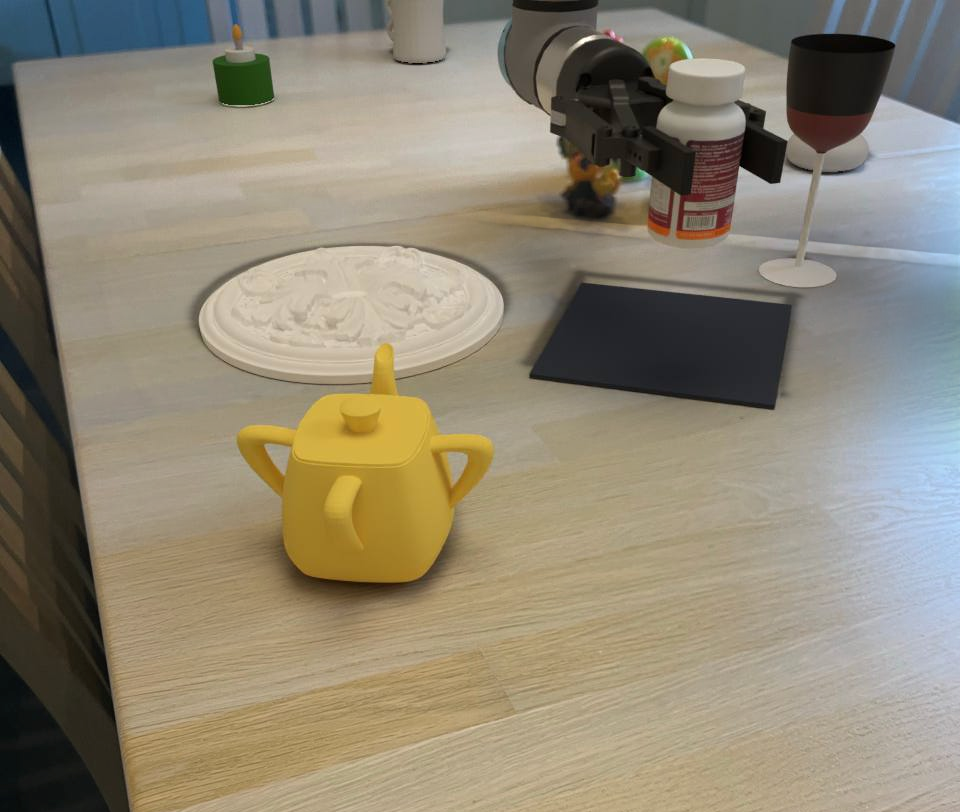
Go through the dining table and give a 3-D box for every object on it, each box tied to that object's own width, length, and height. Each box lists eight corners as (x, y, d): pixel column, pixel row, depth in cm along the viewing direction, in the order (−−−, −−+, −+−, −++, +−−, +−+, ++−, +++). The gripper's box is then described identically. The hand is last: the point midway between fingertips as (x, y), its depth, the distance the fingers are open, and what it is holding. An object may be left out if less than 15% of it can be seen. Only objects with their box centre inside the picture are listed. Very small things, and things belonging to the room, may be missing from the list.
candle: (220, 109, 149) (207, 31, 143) (218, 95, 155) (205, 20, 149) (276, 105, 151) (266, 28, 144) (272, 91, 157) (262, 17, 150)
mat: (791, 308, 94) (792, 304, 94) (774, 409, 80) (775, 404, 80) (580, 286, 99) (581, 282, 98) (529, 377, 84) (529, 373, 84)
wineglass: (752, 255, 104) (790, 32, 91) (840, 260, 103) (891, 35, 90) (752, 284, 98) (792, 51, 85) (845, 291, 97) (900, 54, 84)
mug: (457, 58, 173) (456, -11, 166) (419, 67, 168) (416, -3, 161) (407, 48, 179) (404, -19, 172) (369, 57, 174) (364, -12, 168)
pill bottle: (742, 231, 76) (769, 63, 69) (706, 257, 73) (731, 81, 65) (669, 216, 79) (687, 52, 72) (630, 239, 75) (646, 69, 68)
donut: (771, 169, 126) (851, 180, 122) (775, 139, 124) (857, 149, 119) (799, 148, 132) (876, 159, 128) (804, 120, 130) (882, 129, 126)
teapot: (236, 526, 68) (208, 387, 62) (397, 465, 74) (387, 332, 67) (338, 632, 60) (318, 485, 53) (510, 554, 66) (512, 412, 59)
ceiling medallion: (177, 282, 100) (170, 250, 98) (442, 242, 108) (441, 211, 106) (234, 409, 81) (227, 372, 78) (553, 348, 88) (554, 313, 86)
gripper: (693, 125, 89) (844, 208, 73) (488, 148, 85) (599, 242, 68) (704, 28, 84) (869, 93, 68) (487, 46, 80) (608, 121, 63)
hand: (733, 168), depth 68 cm, fingers closed on pill bottle, 6 cm apart
